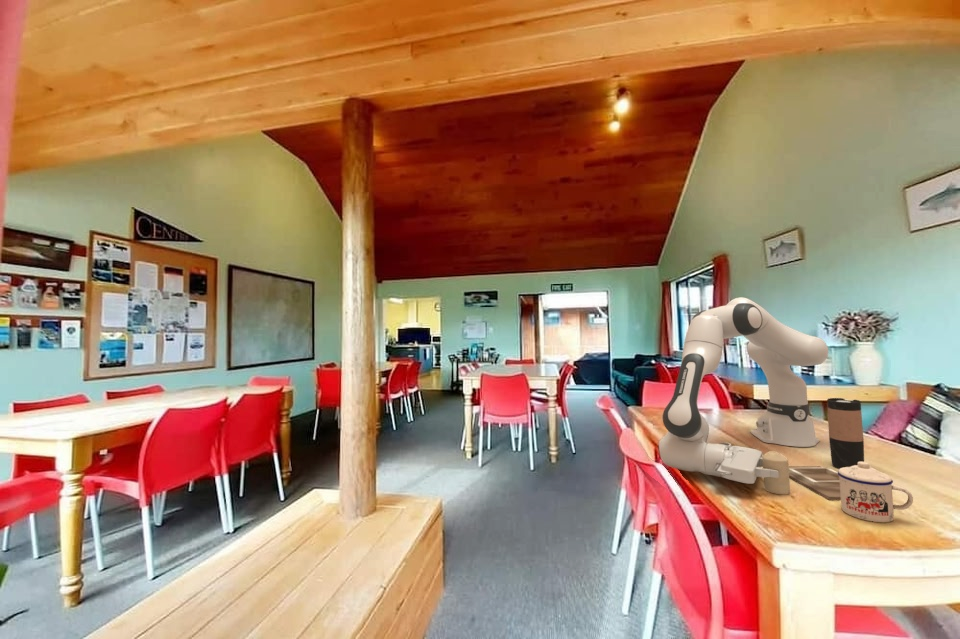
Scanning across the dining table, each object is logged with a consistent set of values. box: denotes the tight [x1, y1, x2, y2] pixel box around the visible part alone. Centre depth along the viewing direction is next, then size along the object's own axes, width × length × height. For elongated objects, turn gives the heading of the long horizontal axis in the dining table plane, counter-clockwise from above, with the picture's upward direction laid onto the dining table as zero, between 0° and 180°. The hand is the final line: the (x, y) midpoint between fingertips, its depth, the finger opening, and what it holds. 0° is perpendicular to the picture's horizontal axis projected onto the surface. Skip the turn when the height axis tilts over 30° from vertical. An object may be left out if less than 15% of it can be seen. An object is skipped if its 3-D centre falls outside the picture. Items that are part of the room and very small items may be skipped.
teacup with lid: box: [837, 461, 914, 523], centre depth 91 cm, size 12×9×12 cm
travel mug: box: [826, 397, 865, 470], centre depth 120 cm, size 8×8×20 cm
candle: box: [762, 450, 791, 495], centre depth 106 cm, size 6×6×10 cm
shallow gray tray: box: [789, 465, 841, 501], centre depth 109 cm, size 22×13×2 cm, turn 174°
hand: (779, 470), depth 105 cm, fingers closed on candle, 5 cm apart
